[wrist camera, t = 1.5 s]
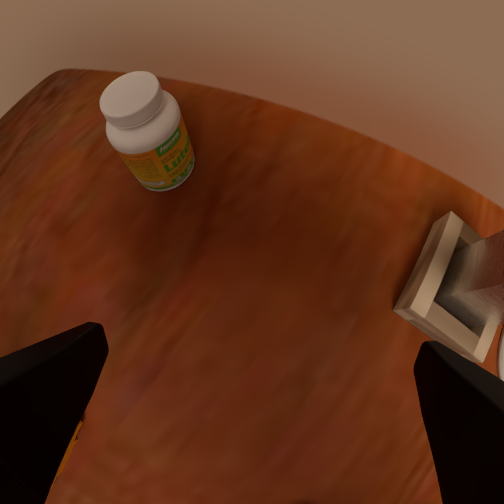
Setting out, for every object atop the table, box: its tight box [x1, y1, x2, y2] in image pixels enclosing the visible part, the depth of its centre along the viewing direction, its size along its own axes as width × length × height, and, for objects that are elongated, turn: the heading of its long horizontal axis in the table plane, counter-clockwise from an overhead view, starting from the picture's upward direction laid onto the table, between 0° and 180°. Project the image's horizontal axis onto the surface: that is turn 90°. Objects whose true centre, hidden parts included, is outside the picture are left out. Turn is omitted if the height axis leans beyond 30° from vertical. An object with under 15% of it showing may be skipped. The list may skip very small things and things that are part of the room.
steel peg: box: [433, 230, 504, 326], centre depth 17 cm, size 4×4×12 cm
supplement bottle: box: [100, 71, 195, 191], centre depth 20 cm, size 5×5×10 cm
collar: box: [392, 211, 498, 363], centre depth 21 cm, size 9×9×3 cm
